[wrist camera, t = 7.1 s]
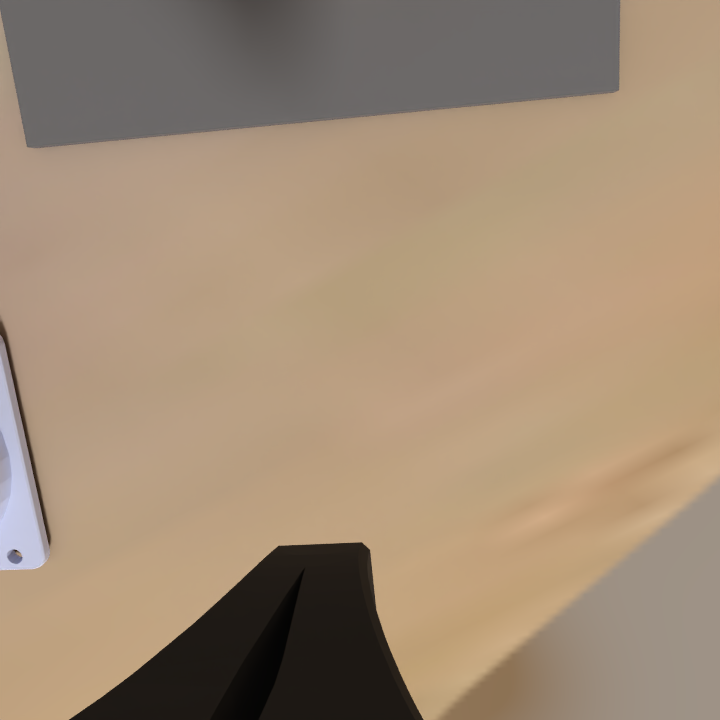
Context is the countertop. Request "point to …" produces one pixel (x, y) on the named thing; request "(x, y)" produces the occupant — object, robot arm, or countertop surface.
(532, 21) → the mat
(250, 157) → the countertop surface
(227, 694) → the robot arm
